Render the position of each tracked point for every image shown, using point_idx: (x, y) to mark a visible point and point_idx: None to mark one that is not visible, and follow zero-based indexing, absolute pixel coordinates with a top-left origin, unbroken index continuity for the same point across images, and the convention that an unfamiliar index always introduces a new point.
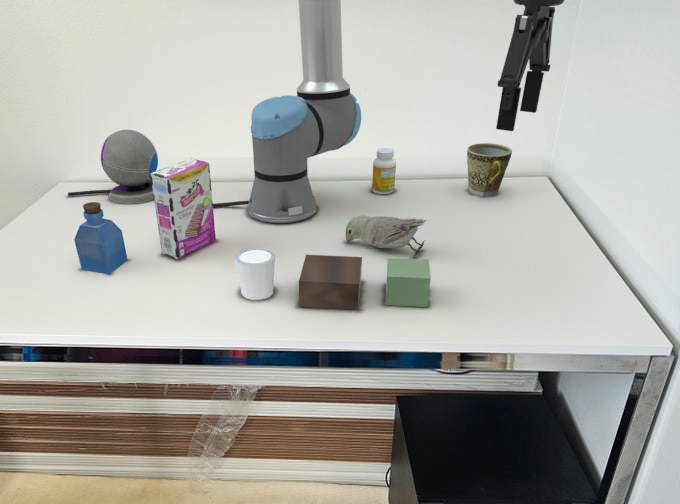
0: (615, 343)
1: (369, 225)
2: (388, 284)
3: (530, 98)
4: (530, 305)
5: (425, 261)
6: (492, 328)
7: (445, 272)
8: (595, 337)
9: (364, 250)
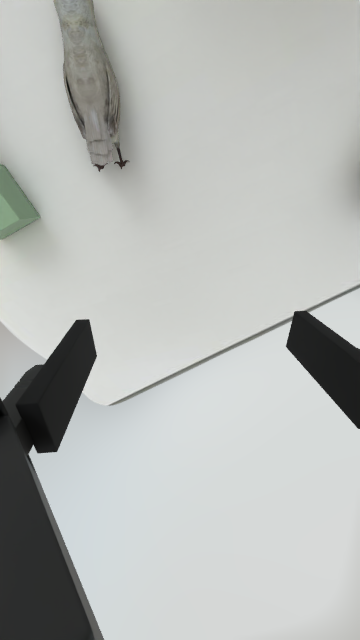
0: None
1: (63, 38)
2: None
3: (310, 349)
4: None
5: (10, 218)
6: (21, 309)
7: (92, 223)
8: None
9: None
